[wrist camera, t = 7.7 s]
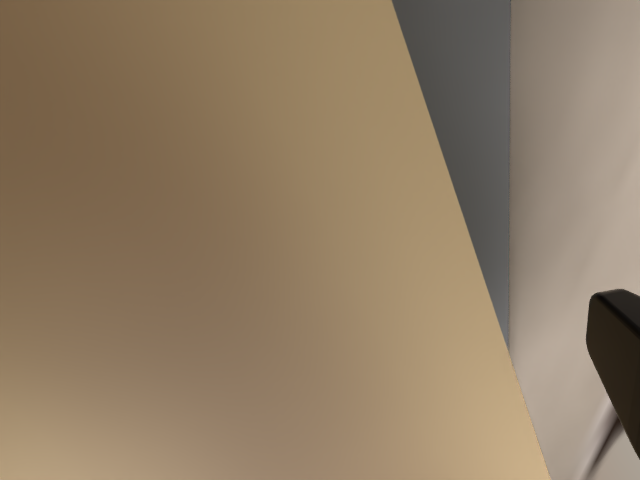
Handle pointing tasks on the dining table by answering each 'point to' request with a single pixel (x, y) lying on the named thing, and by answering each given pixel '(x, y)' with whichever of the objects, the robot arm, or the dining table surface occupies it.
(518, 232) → the dining table surface
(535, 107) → the dining table surface
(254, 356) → the shelf board
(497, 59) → the peg rack
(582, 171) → the dining table surface
